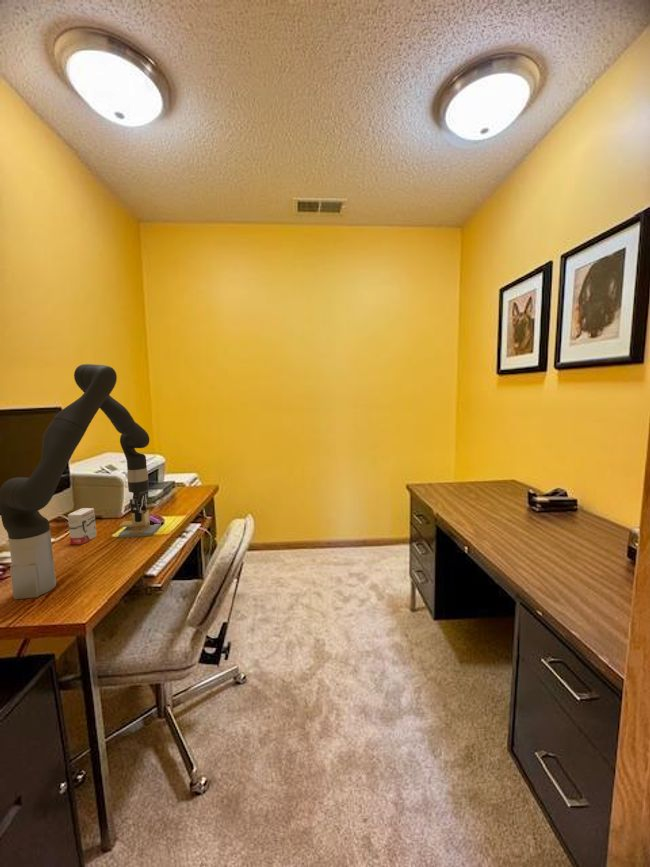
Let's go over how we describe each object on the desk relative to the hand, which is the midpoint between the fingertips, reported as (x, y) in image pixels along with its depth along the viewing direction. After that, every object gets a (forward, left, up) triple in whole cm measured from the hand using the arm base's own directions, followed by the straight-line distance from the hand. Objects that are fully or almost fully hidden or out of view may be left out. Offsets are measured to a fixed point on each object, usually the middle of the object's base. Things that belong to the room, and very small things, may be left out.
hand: (141, 518), depth 149 cm
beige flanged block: (0, +3, -2) cm, 3 cm away
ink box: (-7, +19, -5) cm, 21 cm away
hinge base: (0, 0, -5) cm, 5 cm away
